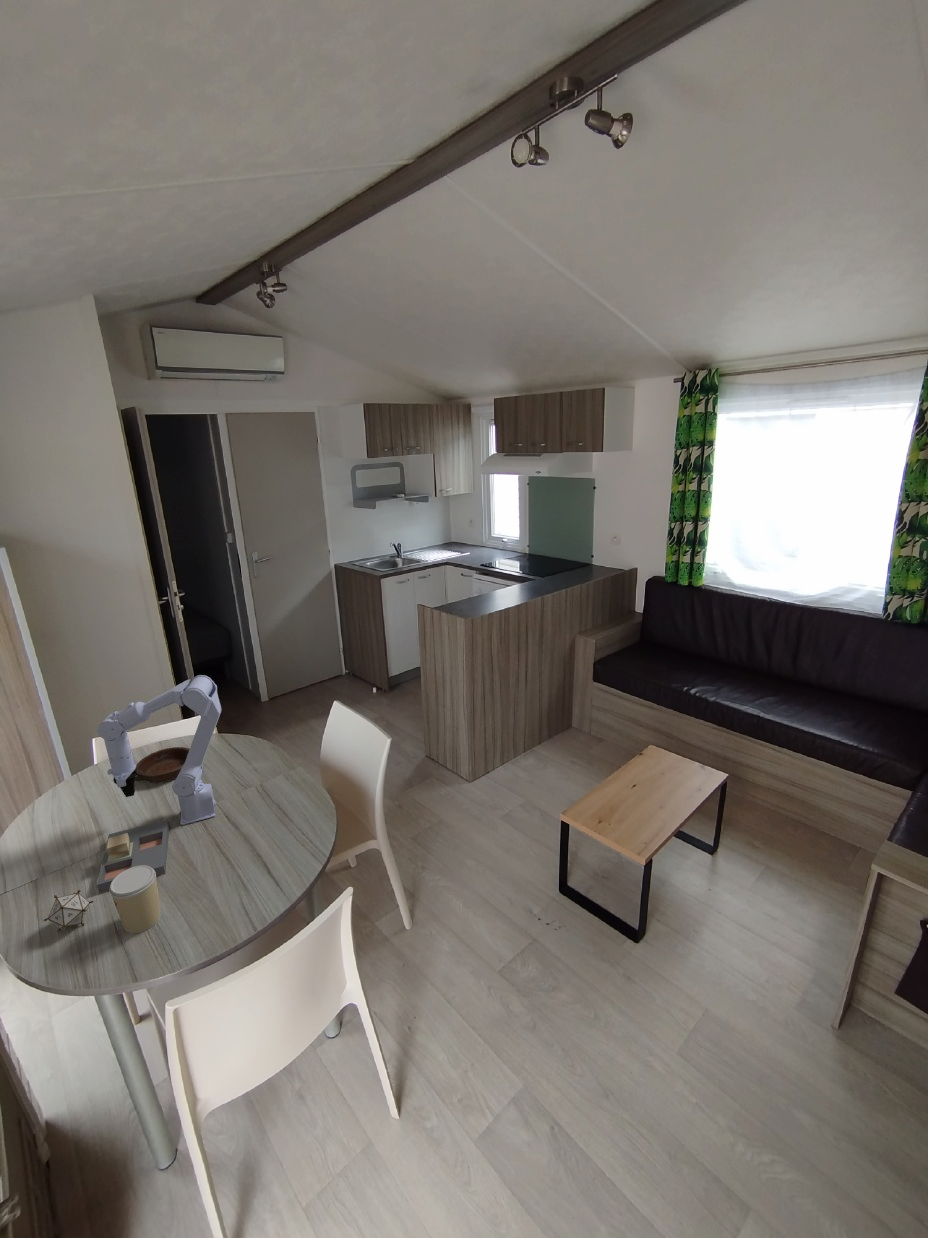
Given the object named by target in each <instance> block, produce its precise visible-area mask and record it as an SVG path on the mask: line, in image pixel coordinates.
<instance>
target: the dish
mask: <svg viewBox="0 0 928 1238" xmlns="http://www.w3.org/2000/svg"><path fill="white" fill-rule="evenodd" d="M189 750H190V748H188V747H186V746H185V747H184V746H175V747H167V748H163V749H159V750H156V751H155V752H152V753H150V754H147V756H144V757H143V758H141V760H139V762H137V764H136V768H137V772H136V777H135V782H139V781H146V782H147V783H150V784H157V783H160V784H161V783H164V782H165V783H166V782H168V781H172V780H176V778H177V776H178V775H179V773H180V771H181V768H182V766H183V765H184V764H185V761H186V758H187V755H188V753H189Z"/></svg>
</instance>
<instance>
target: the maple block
mask: <svg viewBox="0 0 928 1238" xmlns="http://www.w3.org/2000/svg"><path fill="white" fill-rule="evenodd" d="M107 840H108V844H107V843H106V844H107V851H108V855H109V858H110V861H112V860H115V859H119V858H122V857H125V856H129V855H130V848H131V844H130V840H129V836H128V833H125V834H122V835H118V836H114V837H111V838H108V837H107Z"/></svg>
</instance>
